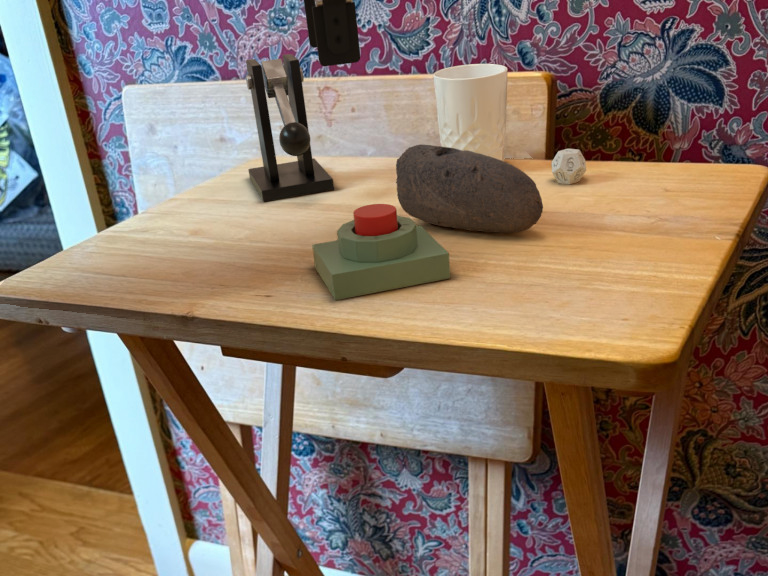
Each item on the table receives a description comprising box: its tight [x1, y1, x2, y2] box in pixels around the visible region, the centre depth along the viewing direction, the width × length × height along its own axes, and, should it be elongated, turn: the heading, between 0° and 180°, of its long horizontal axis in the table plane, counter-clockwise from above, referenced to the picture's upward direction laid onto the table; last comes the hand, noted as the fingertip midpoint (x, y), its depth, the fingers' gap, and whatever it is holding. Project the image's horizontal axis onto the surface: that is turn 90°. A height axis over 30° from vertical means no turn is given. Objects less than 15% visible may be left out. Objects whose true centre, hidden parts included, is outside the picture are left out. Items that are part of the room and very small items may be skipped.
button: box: [352, 203, 398, 236], centre depth 74 cm, size 4×4×2 cm
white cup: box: [432, 63, 509, 162], centre depth 97 cm, size 8×8×10 cm
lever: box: [260, 58, 311, 157], centre depth 93 cm, size 12×3×3 cm, turn 16°
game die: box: [550, 148, 587, 185], centre depth 93 cm, size 4×4×3 cm
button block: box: [311, 214, 451, 301], centre depth 76 cm, size 10×8×4 cm
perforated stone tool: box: [395, 144, 544, 234], centre depth 82 cm, size 15×5×7 cm, turn 51°
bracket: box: [245, 53, 335, 203], centre depth 98 cm, size 10×8×13 cm
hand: (334, 54), depth 73 cm, fingers open, 9 cm apart
